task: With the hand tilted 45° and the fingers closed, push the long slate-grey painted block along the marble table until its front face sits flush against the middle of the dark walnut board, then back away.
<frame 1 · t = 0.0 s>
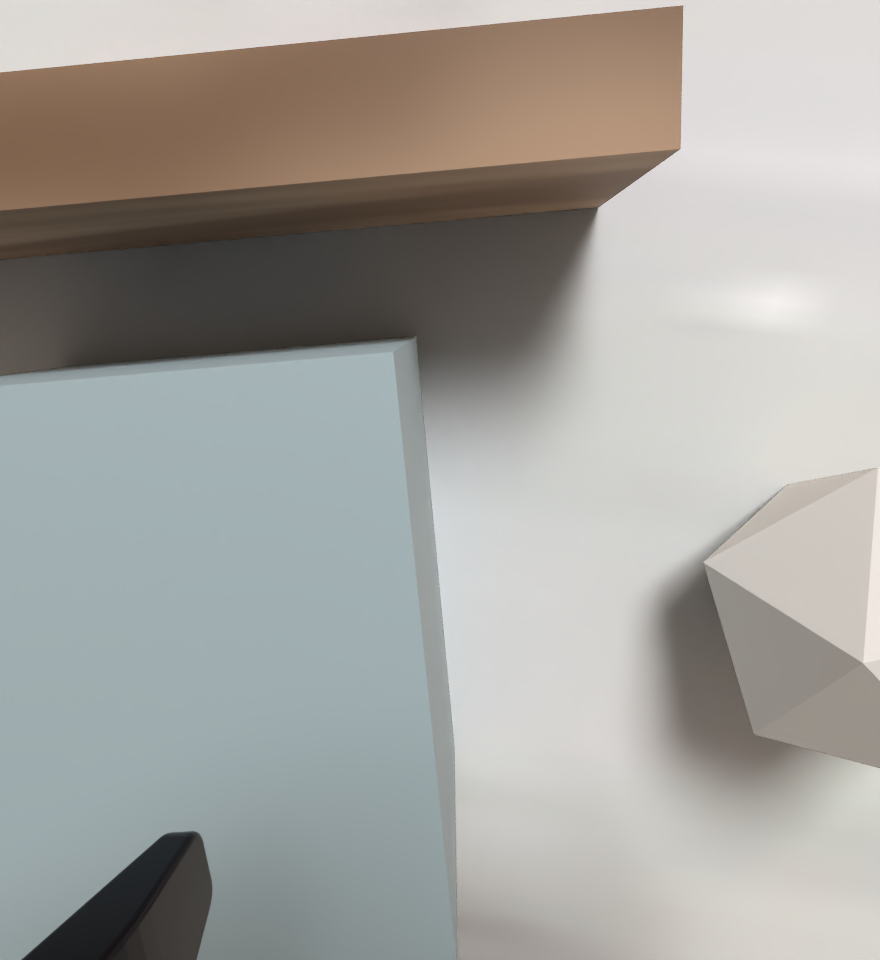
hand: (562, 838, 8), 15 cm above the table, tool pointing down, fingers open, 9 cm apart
slate block: (275, 571, 23), on the table
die: (794, 560, 22), on the table
walnut board: (213, 198, 19), on the table
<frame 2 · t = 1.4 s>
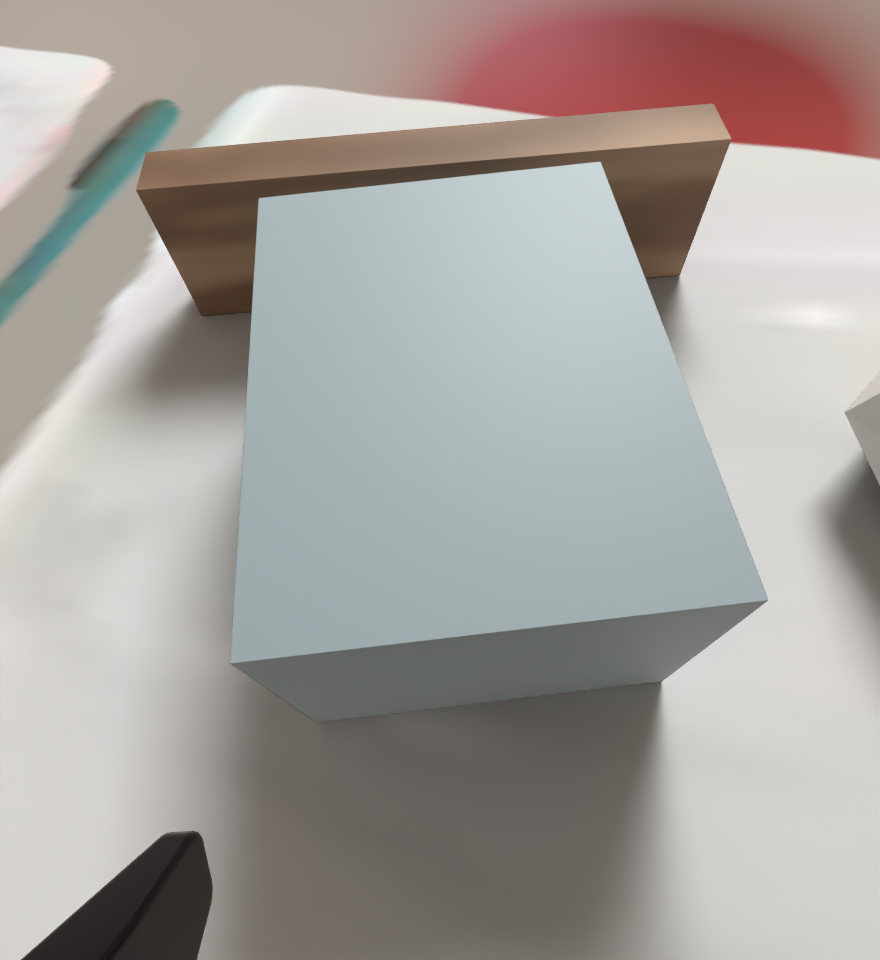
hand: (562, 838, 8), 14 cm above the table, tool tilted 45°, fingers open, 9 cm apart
slate block: (461, 500, 25), on the table
walnut board: (439, 277, 31), on the table
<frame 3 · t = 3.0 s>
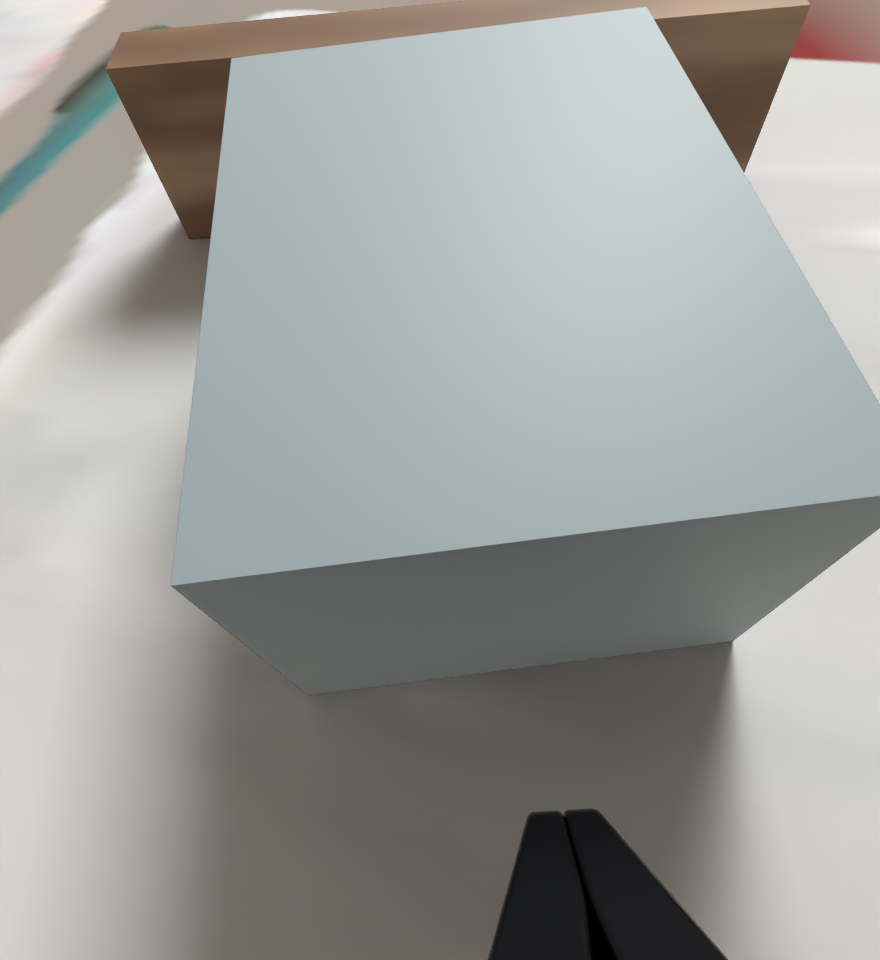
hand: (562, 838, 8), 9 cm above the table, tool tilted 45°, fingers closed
slate block: (480, 437, 21), on the table
walnut board: (457, 198, 28), on the table
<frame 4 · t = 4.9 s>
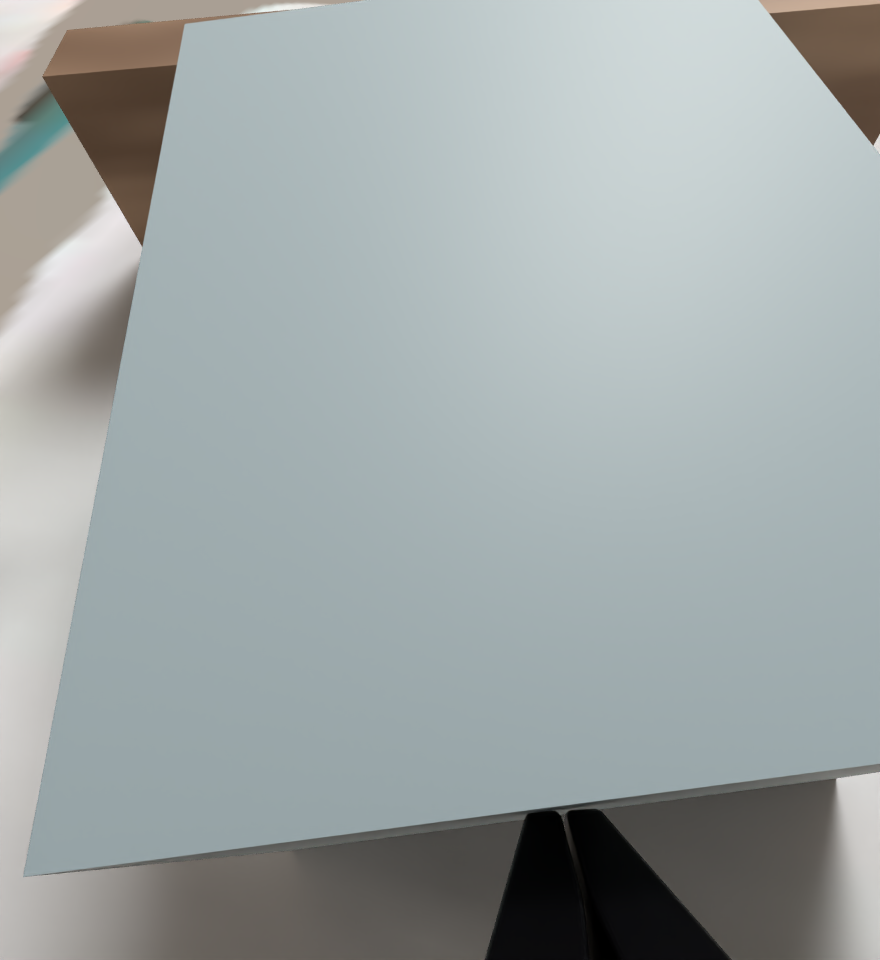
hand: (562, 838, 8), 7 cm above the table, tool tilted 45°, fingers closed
slate block: (502, 495, 17), on the table, touching gripper
walnut board: (483, 231, 23), on the table
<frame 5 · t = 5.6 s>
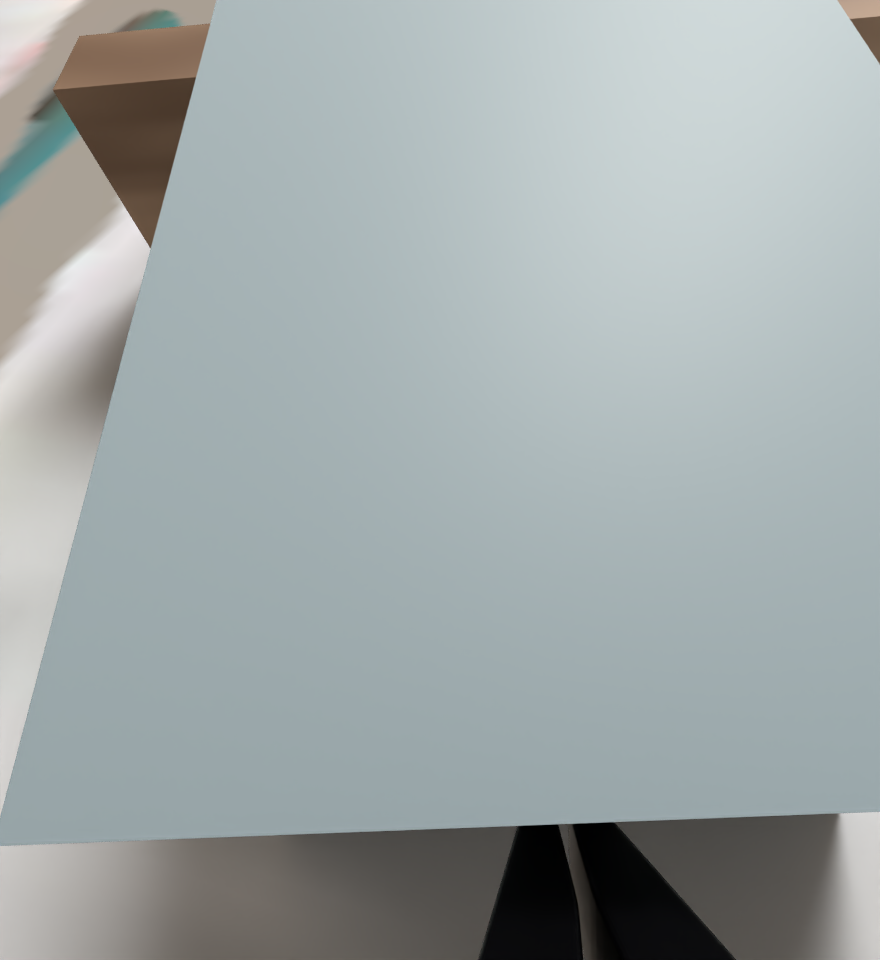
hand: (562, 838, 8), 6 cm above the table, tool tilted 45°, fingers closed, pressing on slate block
slate block: (518, 487, 17), on the table, touching gripper, walnut board
walnut board: (518, 245, 21), on the table
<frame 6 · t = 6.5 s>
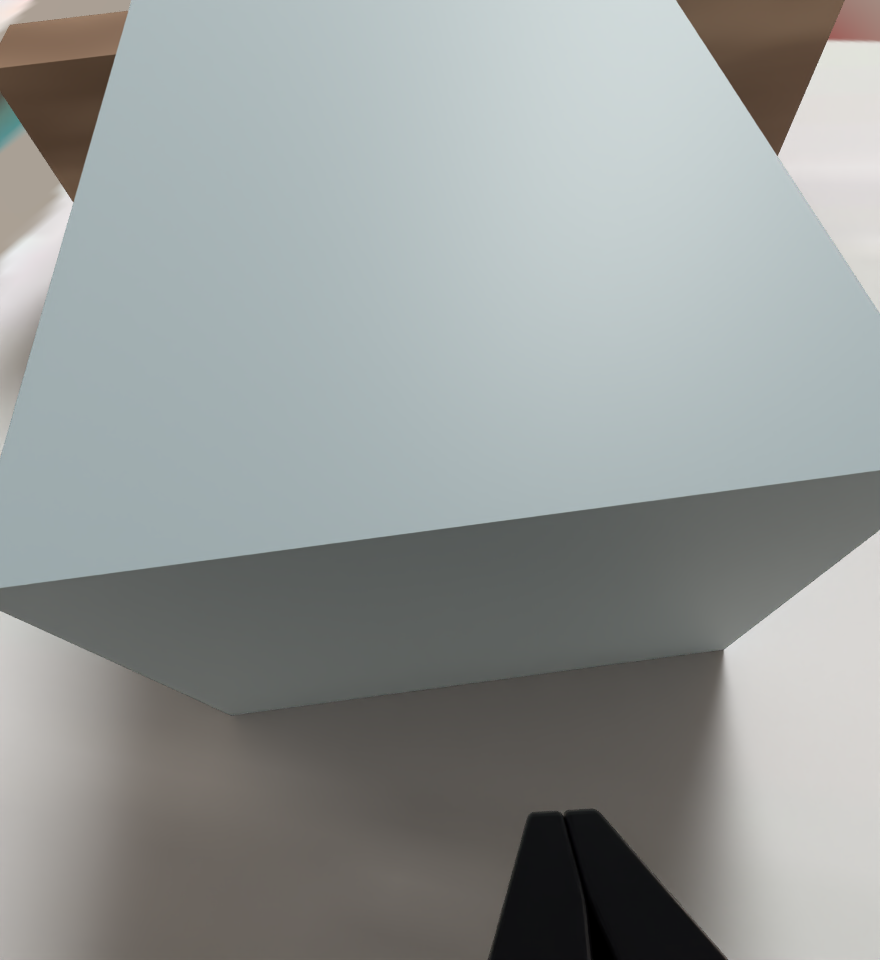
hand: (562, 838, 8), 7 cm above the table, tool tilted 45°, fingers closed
slate block: (439, 418, 19), on the table
walnut board: (433, 212, 24), on the table
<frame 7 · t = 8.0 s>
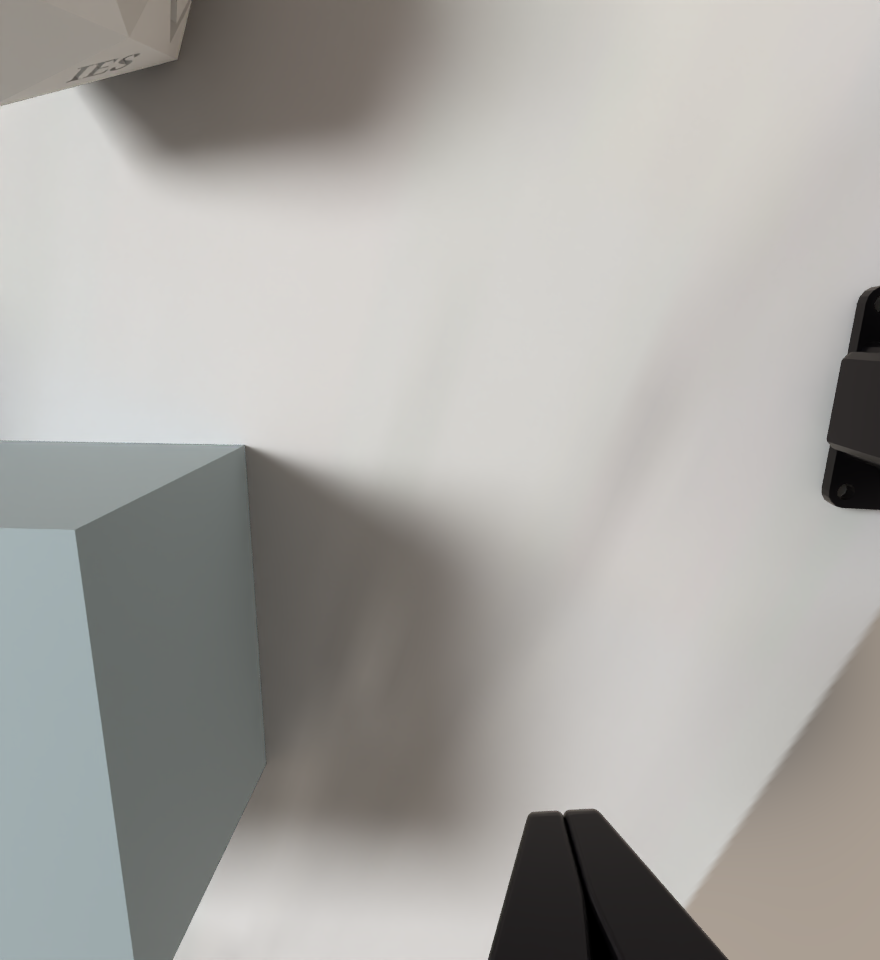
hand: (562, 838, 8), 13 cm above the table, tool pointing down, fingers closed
slate block: (37, 605, 22), on the table
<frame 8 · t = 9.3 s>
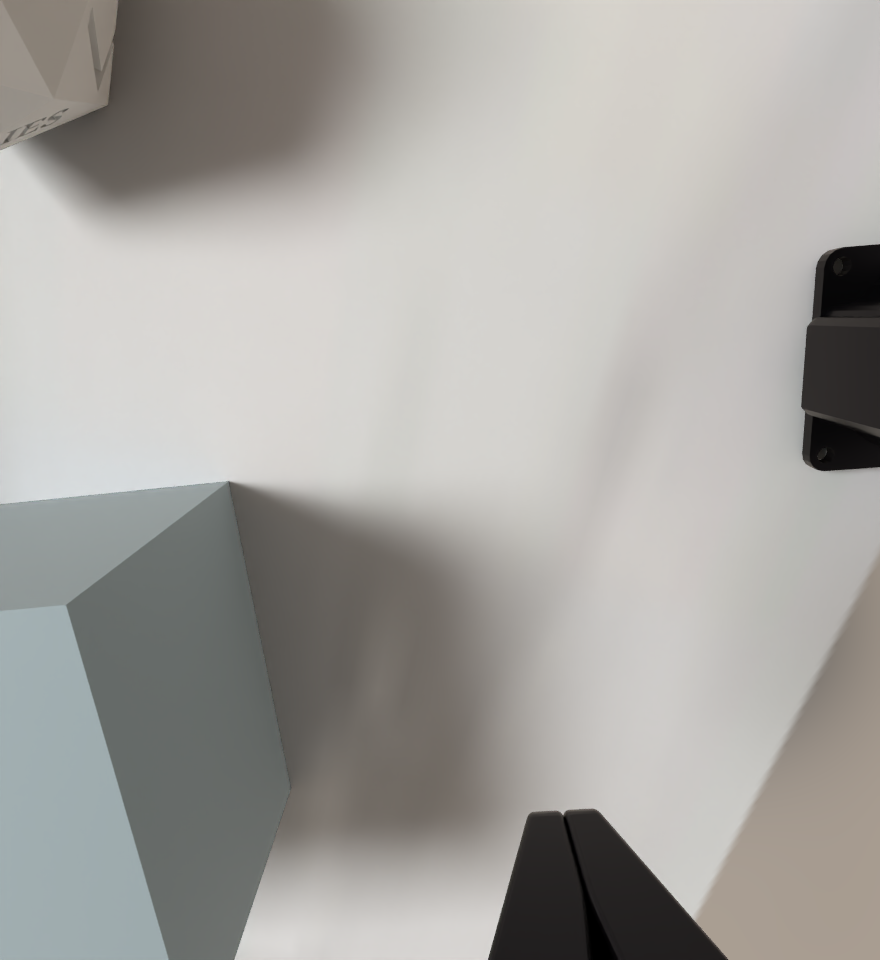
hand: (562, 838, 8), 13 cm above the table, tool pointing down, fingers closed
slate block: (44, 662, 22), on the table
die: (22, 19, 17), on the table
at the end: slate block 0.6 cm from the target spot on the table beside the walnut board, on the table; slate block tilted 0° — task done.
